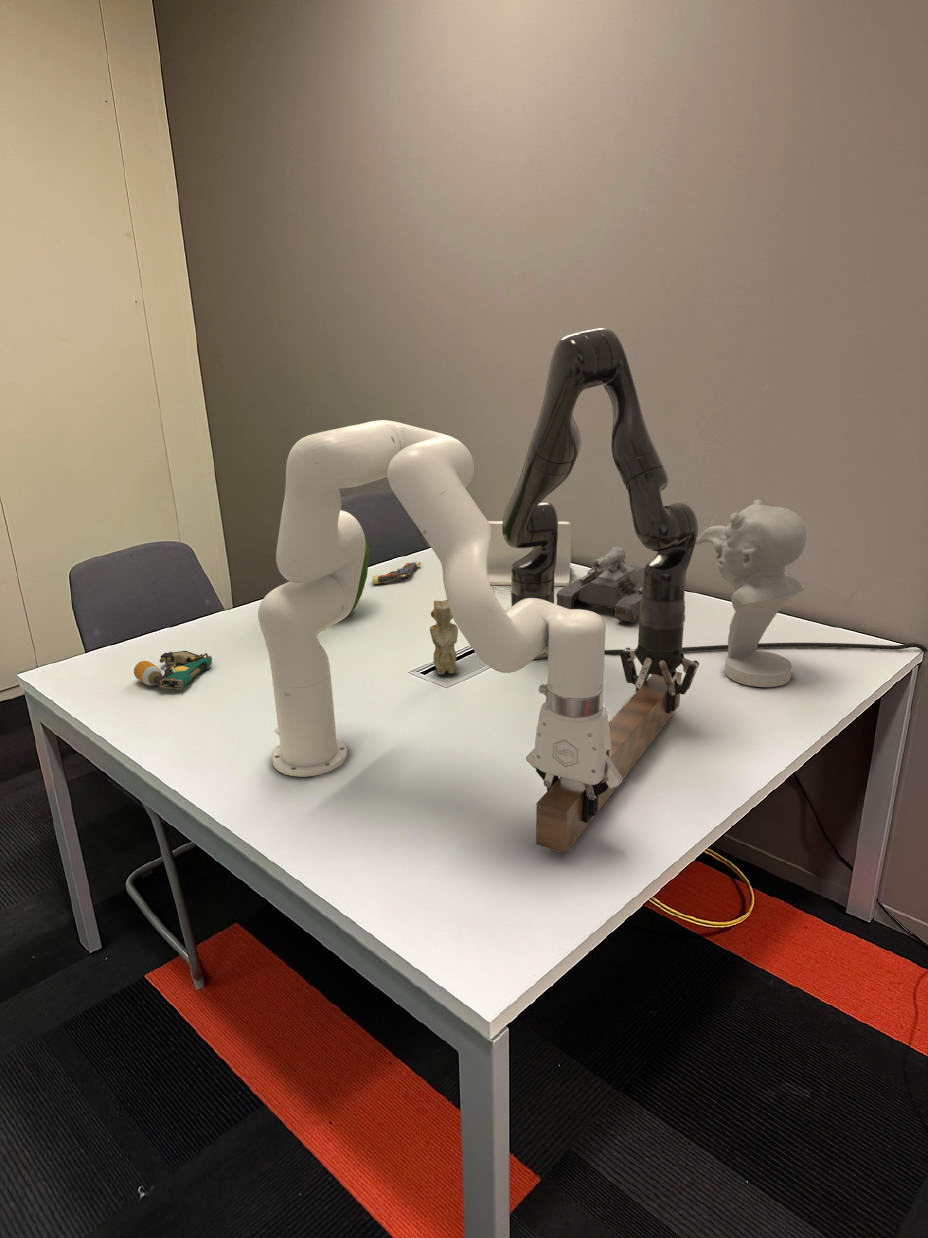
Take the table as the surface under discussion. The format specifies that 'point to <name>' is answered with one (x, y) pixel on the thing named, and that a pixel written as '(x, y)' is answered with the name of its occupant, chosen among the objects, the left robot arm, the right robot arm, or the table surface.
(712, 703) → the table surface
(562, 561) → the tablet stand
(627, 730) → the bar
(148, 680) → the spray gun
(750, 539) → the bust sculpture
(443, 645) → the sculpture
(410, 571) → the toy gun
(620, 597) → the toy
